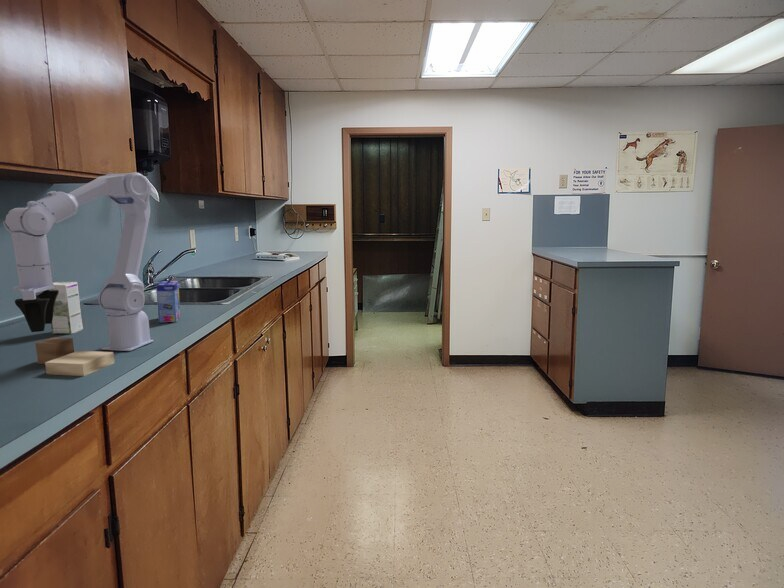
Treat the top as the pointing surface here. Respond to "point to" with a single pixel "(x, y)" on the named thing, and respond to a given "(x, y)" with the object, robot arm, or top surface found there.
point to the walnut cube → (53, 349)
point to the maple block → (79, 363)
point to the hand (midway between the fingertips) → (42, 327)
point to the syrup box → (66, 309)
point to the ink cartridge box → (168, 301)
